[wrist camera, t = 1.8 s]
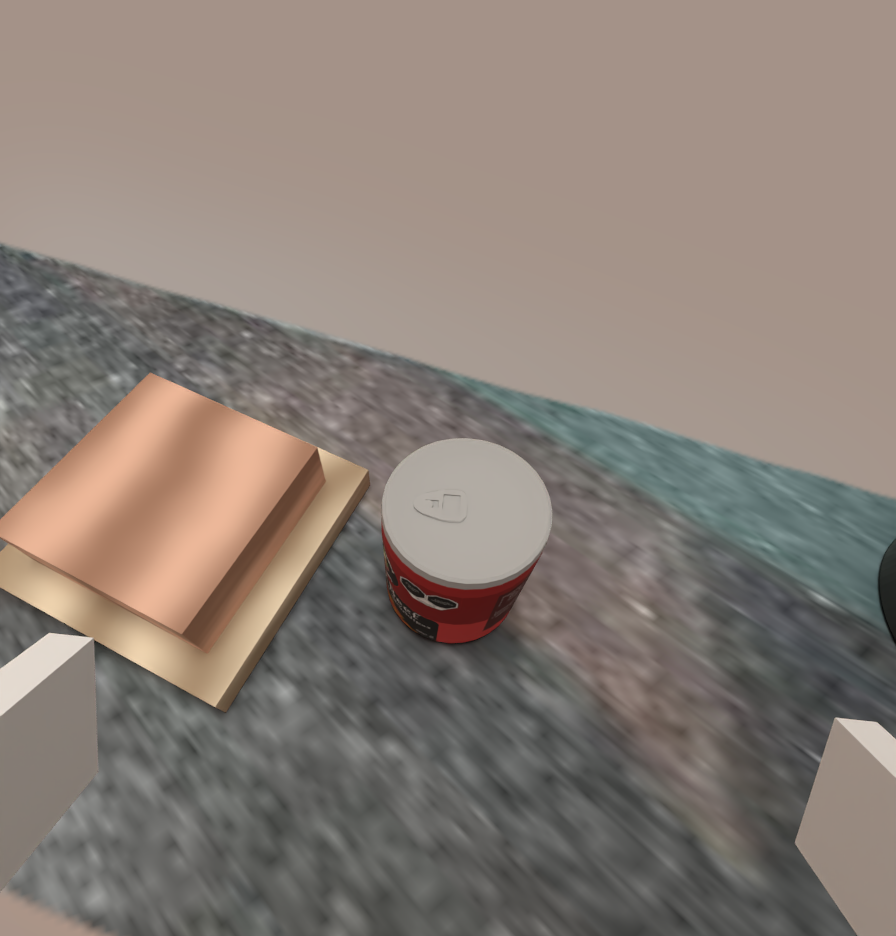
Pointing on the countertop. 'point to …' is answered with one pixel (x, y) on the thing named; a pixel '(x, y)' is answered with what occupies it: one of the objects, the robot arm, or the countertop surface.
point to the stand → (179, 535)
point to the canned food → (461, 536)
